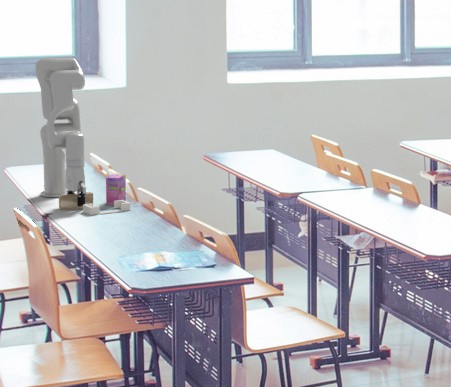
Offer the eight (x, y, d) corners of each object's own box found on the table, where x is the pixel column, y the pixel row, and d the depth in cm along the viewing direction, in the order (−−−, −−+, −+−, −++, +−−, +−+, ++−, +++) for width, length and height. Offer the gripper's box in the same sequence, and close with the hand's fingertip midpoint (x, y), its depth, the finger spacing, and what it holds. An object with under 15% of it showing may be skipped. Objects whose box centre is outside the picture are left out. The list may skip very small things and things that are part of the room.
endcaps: (83, 211, 413) (82, 204, 413) (122, 207, 423) (122, 199, 423) (91, 215, 407) (91, 208, 406) (131, 210, 416) (131, 203, 416)
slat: (59, 209, 418) (58, 195, 417) (90, 206, 426) (89, 191, 425) (62, 211, 416) (61, 196, 415) (93, 207, 423) (93, 193, 422)
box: (119, 205, 426) (118, 177, 424) (106, 204, 428) (105, 177, 425) (126, 200, 436) (125, 173, 434) (113, 200, 438) (113, 173, 435)
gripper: (58, 161, 422) (59, 201, 426) (75, 167, 408) (76, 208, 411) (74, 159, 426) (75, 199, 430) (92, 165, 412) (93, 206, 416)
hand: (76, 204), depth 421 cm, fingers open, 9 cm apart
